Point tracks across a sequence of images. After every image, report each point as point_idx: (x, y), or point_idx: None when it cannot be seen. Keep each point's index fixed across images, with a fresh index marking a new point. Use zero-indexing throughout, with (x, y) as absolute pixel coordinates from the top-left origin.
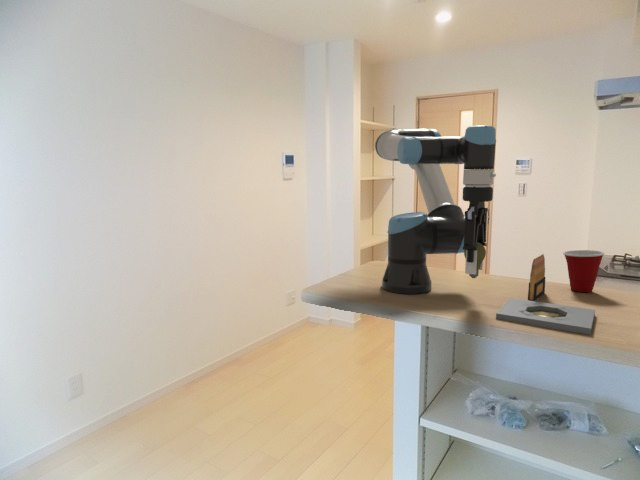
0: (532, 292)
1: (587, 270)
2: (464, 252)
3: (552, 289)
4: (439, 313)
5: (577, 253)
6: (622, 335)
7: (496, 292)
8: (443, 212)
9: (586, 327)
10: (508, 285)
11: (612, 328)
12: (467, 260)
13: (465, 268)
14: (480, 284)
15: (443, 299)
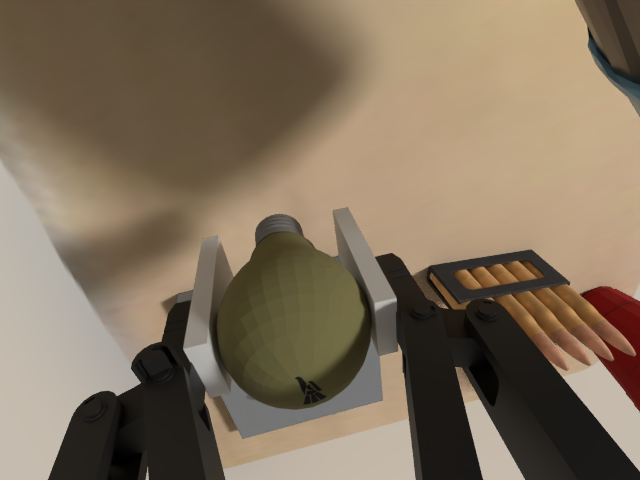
0: (440, 291)
1: (611, 371)
2: (237, 286)
3: (577, 262)
4: (49, 142)
5: None
6: (283, 443)
7: (477, 162)
8: None
9: (242, 433)
10: (595, 149)
11: (312, 426)
12: (169, 315)
13: (199, 256)
14: (583, 51)
15: (246, 39)
